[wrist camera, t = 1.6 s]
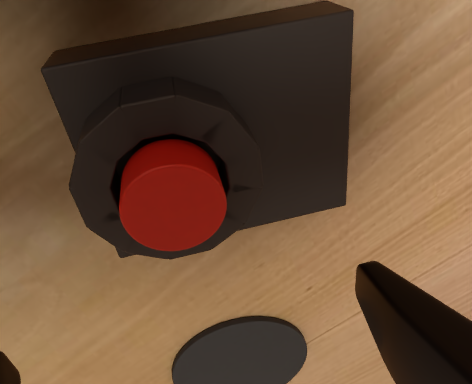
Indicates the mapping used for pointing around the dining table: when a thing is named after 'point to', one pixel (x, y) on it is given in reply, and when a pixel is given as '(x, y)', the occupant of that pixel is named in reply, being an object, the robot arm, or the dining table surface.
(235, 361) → the coaster
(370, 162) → the dining table surface
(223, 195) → the power button
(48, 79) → the power block
